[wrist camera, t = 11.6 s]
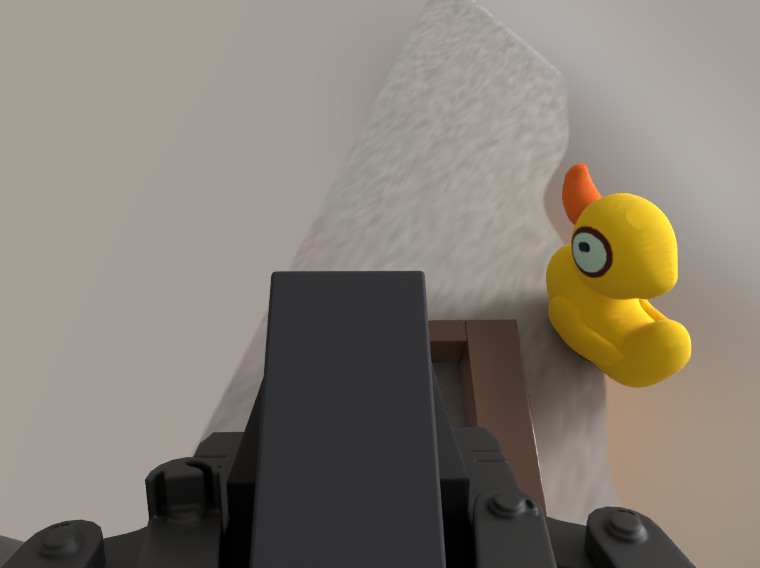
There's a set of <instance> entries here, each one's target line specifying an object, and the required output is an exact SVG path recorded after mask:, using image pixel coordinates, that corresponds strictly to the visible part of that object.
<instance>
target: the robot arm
mask: <svg viewBox="0 0 760 568" xmlns="http://www.w3.org/2000/svg"><path fill="white" fill-rule="evenodd" d="M431 368H432V382H433V396H434V409H435V423H436V437H437V450H438V464H439V478H440V491H441V505H442V519H443V532H444V546H445V560H446V568H696V567H695V566H694V565H693V564H692V563H691V562H690V561H689V559H688V558H687V557H686V556H685V555H684V554H683V553H682V552H681V550H680V549H679V548H678V547H677V546H676V545H675V544H674V543H673V542H672V540H671V539H670V538H669V537H668V536H667V535H666V534H665V533H664V532H663V531H662V529H661V528H660V527H659V526H658V525H657V524H655V523H654V522H653V521H652V520H651V519H649V518H648V517H646V516H644V515H642V514H640V513H638V512H636V511H633V510H630V509H626V508H621V507H604V508H599V509H596V510H594V511H593V512H592V513H590V514H589V516H588V520H587V526H584V525H579V524H574V523H568V522H564V521H560V520H556V519H553V518H550V517H548V516H546V515H544V512H543V509H542V507H541V506H540V504H539V502H538V501H537V500H535V499H534V498H533V497H531V496H530V495H528V494H526V493H524V492H522V490H521V488H520V486H519V484H518V482H517V479H516V477H515V475H514V473H513V471H512V469H511V466H510V464H509V462H507V458H506V455H505V453H504V452H503V449H502V447H501V445H500V442H499V440H498V438H497V437H496V436H495V435H494V434H492V433H491V432H490V431H489V430H487V429H486V428H485V427H453V426H452V423H451V420H450V417H449V414H448V411H447V408H446V405H445V402H444V399H443V395H442V392H441V389H440V386H439V383H438V380H437V377H436V374H435V371H434V368H433V365H432V362H431ZM263 379H264V377H263ZM262 392H263V380H262V383H261V386H260V389H259V392H258V395H257V397H256V400H255V403H254V406H253V409H252V412H251V415H250V417H249V420H248V423H247V426H246V429H245V432H214V433H212V434H211V435H210V436H209V437H207V438H206V439H205V440H204V441H202V442H201V443H200V444H199V446H198V448H197V450H196V453H195V455H194V457H186V458H180V459H175V460H171V461H169V462H166V463H164V464H161V465H159V466H158V467H156V468H155V469H154V470H152V471H151V472H150V473H149V475H148V476H147V478H146V479H145V484H146V494H147V503H148V512H149V521H148V525H147V526H146V527H144V528H142V529H140V530H137V531H134V532H130V533H126V534H122V535H118V536H114V537H109V538H105V539H103V535H102V531H101V527H100V526H98V525H97V524H95V523H94V522H91V521H85V520H73V521H65V522H61V523H57V524H54V525H51V526H49V527H47V528H45V529H43V530H41V531H39V532H37V533H35V534H34V535H33V536H32V537H31V538H30V539H28V540H27V541H26V542H25V543H24V544H23V545H22V546H21V547H20V548H19V549H18V550H17V551H16V552H15V554H14V555H13V556H12V557H11V558H10V559H9V560H8V561H7V562H6V563H5V565H4V566H3V567H2V568H249V565H250V552H251V539H252V525H253V512H254V499H255V485H256V472H257V459H258V446H259V432H260V419H261V406H262Z"/></svg>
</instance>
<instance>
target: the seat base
mask: <svg viewBox="0 0 760 568" xmlns="http://www.w3.org/2000/svg"><path fill="white" fill-rule="evenodd" d="M428 327H429V341H430V355H431V362H459V363H460V373H461V382H462V391H463V401H464V410H465V420H466V427H485V428H486V429H487V430H489V431H490V432H491V433H492V434H494V435H495V436H496V437H497V438H498V440H499V442H500V445H501V447H502V449H503V452H504V453H505V455H506V458H507V462H509V464H510V466H511V469H512V471H513V473H514V475H515V477H516V479H517V482H518V484H519V486H520V488H521V490H522V492H524V493H526V494H528V495H530V496H531V497H533V498H534V499H535V500H537V501H538V502H539V504H540V506H541V507H542V509H543V512H544V515H546V516H548V514H547V508H546V502H545V496H544V490H543V484H542V477H541V471H540V465H539V459H538V453H537V447H536V441H535V434H534V428H533V422H532V416H531V410H530V404H529V398H528V392H527V385H526V379H525V373H524V367H523V361H522V355H521V349H520V342H519V336H518V330H517V324H516V320H515V319H513V320H465V321H464V320H440V321H428Z"/></svg>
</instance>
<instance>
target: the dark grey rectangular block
mask: <svg viewBox="0 0 760 568" xmlns="http://www.w3.org/2000/svg"><path fill="white" fill-rule="evenodd" d="M249 568H446V560H445V546H444V532H443V519H442V505H441V491H440V478H439V464H438V450H437V437H436V423H435V409H434V396H433V382H432V368H431V355H430V341H429V327H428V314H427V300H426V286H425V275H424V273H423V272H422V271H283V272H273V274H272V275H271V287H270V300H269V313H268V326H267V339H266V353H265V366H264V379H263V392H262V406H261V419H260V432H259V446H258V459H257V472H256V485H255V499H254V512H253V525H252V539H251V552H250V565H249Z"/></svg>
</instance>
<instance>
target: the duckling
mask: <svg viewBox="0 0 760 568" xmlns="http://www.w3.org/2000/svg"><path fill="white" fill-rule="evenodd" d="M562 200H563V205H564V208H565V211H566V213H567V216H568V218H569V220H570V221H571V222H572V223H573V224H574V225H575V227H574V230H573V234H572V240H571V243H569V244H567V245H565V246H563V247H562V248H560V249H559V250H558V251H557V252H556V253H555V254H554V255H553V257H552V258H551V260H550V262H549V264H548V267H547V273H546V283H547V290H548V295H549V299H550V303H549V306H548V313H549V318H550V321H551V323H552V325H553V327H554V328H555V329H556V331H557V332H558V334H559V335H560V336H561V338H562V339H563V340H564V342H565V343H566V344H567V345H568V346H569V347H570V348H572V349H573V350H574V351H576V352H577V353H578V354H580V355H581V356H583V357H584V358H586V359H588V360H590V361H592V362H593V363H594V364H595V365H596V366H597V367H598V368H599V369H601V370H602V371H603V372H604V373H605V374H606V375H608V376H609V377H610V378H612V379H614V380H615V381H617V382H619V383H621V384H623V385H626V386H630V387H646V386H650V385H653V384H656V383H658V382H661V381H663V380H665V379H667V378H668V377H670V376H672V375H673V374H675V373H677V372H678V371H679V370H681V369H682V368H683V367H684V366H685V365H686V363H687V362H688V360H689V358H690V355H691V341H690V337H689V334H688V332H687V331H686V329H685V328H684V327H683V326H682V325H681V324H679V323H678V322H676V321H673V320H669V319H667V318H666V317H665V316H663V315H662V314H661V313H660V312H658V311H657V310H656V309H655V308H654V307H653V306H652V305H651V304H650V303H649V302H648V301H647V299H651V298H655V297H657V296H661V295H663V294H665V293H667V292H668V291H669V290H671V289H672V288H673V287H674V285H675V283H676V281H677V275H678V270H677V243H676V238H675V234H674V231H673V229H672V226H671V224H670V222H669V221H668V219H667V218H666V216H665V215H664V214H663V212H662V211H661V210H660V209H659V208H657V207H656V206H655V205H654V204H652V203H651V202H649V201H647V200H646V199H644V198H641V197H639V196H635V195H632V194H627V193H617V194H616V193H615V194H611V195H608V196H605V197H601V196H600V194H599V192H598V191H597V189H596V187H595V186H594V185H593V182H592V181H591V178H590V176H589V173H588V169H587V167H586V165H585V164H577V165H574V166H573V167H571V169H570V170H569V171H568V172H567V174H566V176H565V180H564V184H563V191H562Z"/></svg>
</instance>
